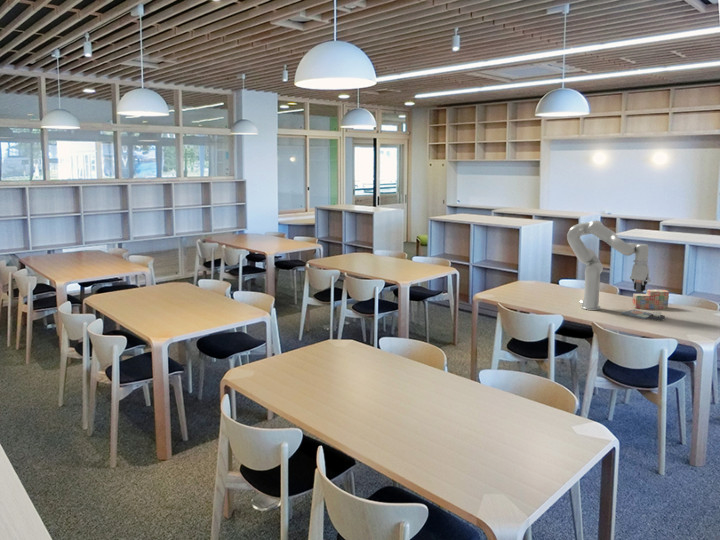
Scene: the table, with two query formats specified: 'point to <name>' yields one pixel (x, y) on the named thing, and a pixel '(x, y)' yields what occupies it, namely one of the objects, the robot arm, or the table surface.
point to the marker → (638, 286)
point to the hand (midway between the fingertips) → (639, 289)
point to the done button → (657, 314)
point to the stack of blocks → (651, 300)
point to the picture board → (637, 314)
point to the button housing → (656, 317)
